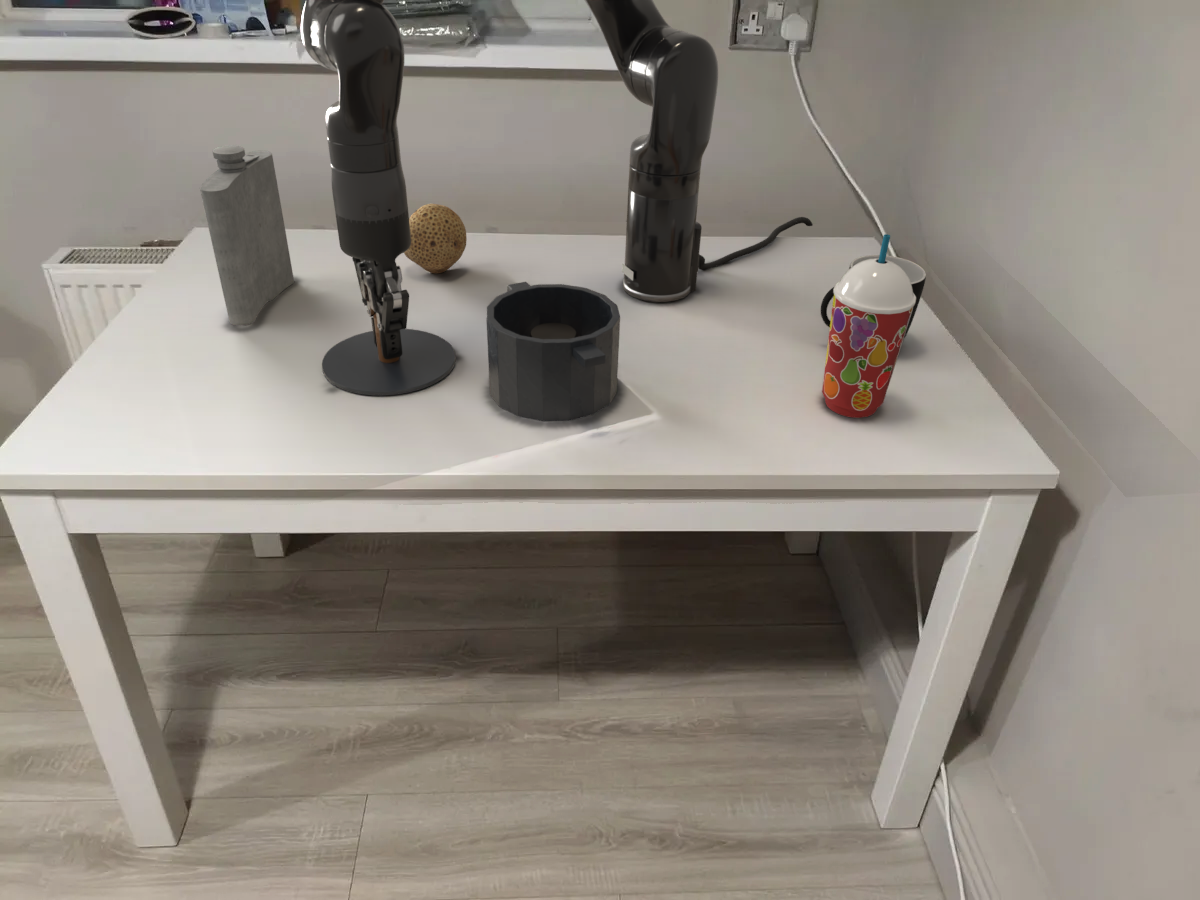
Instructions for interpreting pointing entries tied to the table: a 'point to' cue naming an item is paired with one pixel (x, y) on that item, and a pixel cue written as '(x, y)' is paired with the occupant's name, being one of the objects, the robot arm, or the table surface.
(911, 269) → the mug
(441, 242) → the natural sponge
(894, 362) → the smoothie
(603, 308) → the pot
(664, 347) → the table surface
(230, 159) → the hip flask
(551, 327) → the tea tin
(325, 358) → the pot lid
